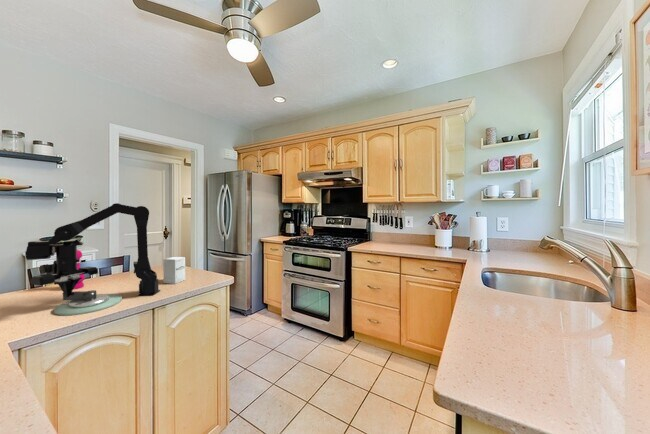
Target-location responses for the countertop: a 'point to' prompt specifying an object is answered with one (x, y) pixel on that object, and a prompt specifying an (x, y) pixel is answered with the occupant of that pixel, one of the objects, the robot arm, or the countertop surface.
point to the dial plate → (66, 310)
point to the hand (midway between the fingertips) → (67, 296)
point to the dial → (85, 298)
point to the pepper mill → (80, 283)
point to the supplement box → (174, 270)
